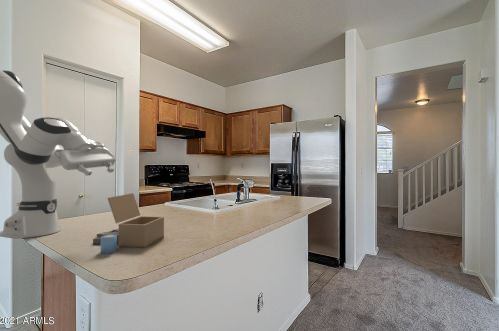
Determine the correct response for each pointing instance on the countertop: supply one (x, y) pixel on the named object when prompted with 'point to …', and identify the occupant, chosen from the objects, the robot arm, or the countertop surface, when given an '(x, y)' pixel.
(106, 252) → the light blue cube
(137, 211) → the flap
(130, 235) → the carton
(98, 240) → the toy gun
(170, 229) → the countertop surface
